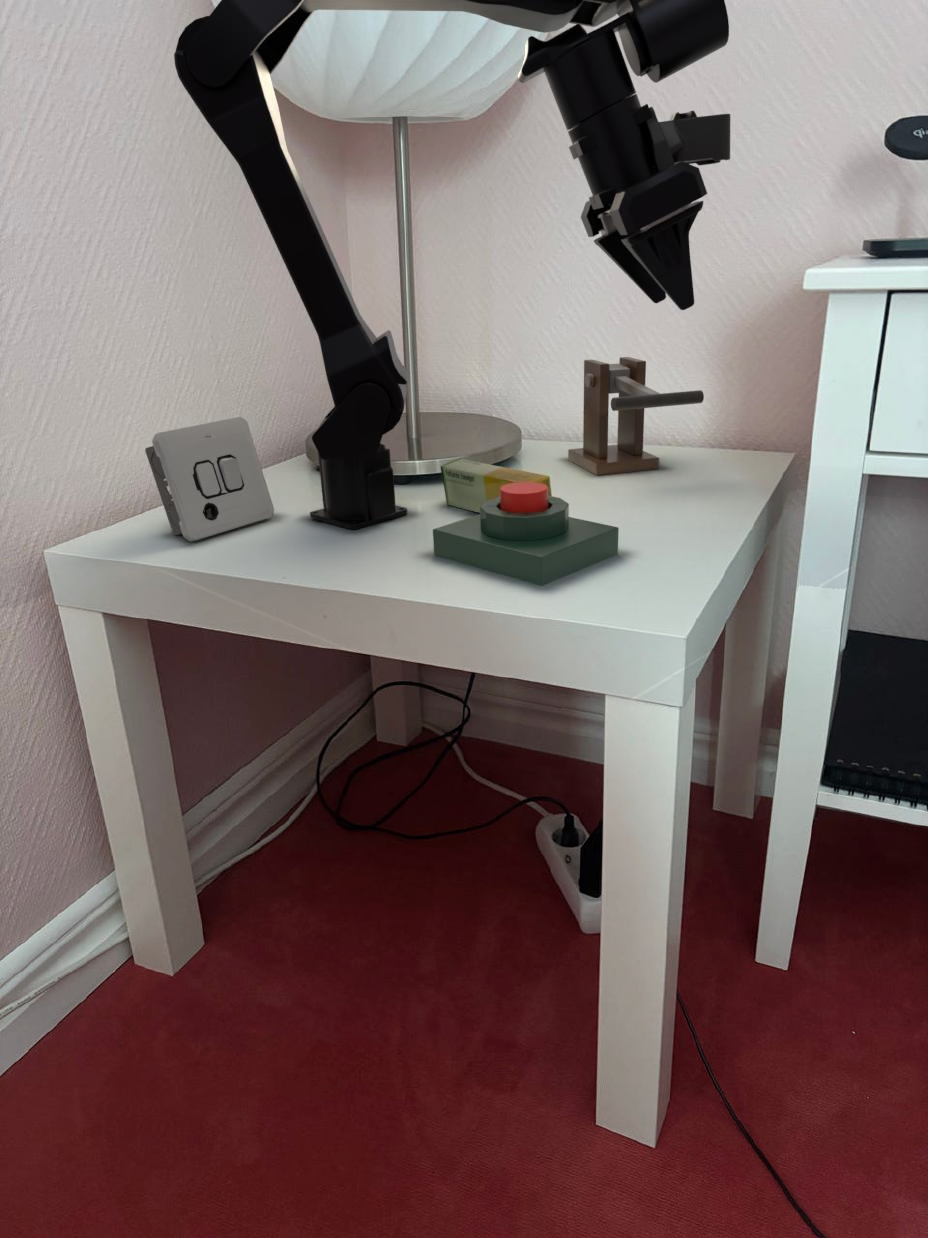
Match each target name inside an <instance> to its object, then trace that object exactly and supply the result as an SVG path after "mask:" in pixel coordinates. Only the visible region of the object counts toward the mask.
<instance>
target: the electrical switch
mask: <svg viewBox="0 0 928 1238" xmlns="http://www.w3.org/2000/svg"><path fill="white" fill-rule="evenodd" d="M151 443H152V446H148V447H145V449H144V452H145V454H146V457H147V462H148V464H149V467H150V470H151V472H152V475H153V478H154V481H155V484H156V487H157V490H158V493H159V496H160V499H161V502H162V505H163V508H164V512H165V514H166V517H167V520H168V523H169V526H170V529H171V531H172V535H173V536H175V535H176V536H177V535H182V537H183V538H184V539H186V540H187V541H188V542H196V541H199V540H203V539H206V538H208V537H212V536H216V535H219V534H221V533H224V532H229V531H231V530H235V529H238V528H241V527H244V526H248V525H251V524H255V523H258V522H261V521H263V520H267V519H269V518H272V517H273V515H274V512H275V508H274V507H275V506H274V505H273V500H272V498H271V497H272V496H271V494H270V491H269V488H268V485H267V482H266V478H265V475H264V472H263V469H262V465H261V462H260V458H259V455H258V453H257V449H256V446H255V444H254V443H255V442H254V440H253V436H252V433H251V430H250V427H249V423H248V421H247V420H246V419H245V418H244V417H242V416H237V417H230V418H225V419H221V420H215V421H210V422H206V423H199V424H195V425H190V426H185V427H181V428H176V429H175V428H174V429H170V430H165V431H160V432H157V433H155V434H154V435H153V438H152V441H151ZM168 488H169V490H168Z"/></svg>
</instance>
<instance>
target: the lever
mask: <svg viewBox="0 0 928 1238" xmlns="http://www.w3.org/2000/svg"><path fill="white" fill-rule="evenodd" d="M608 364H609V395H611V394H619V393H624V392H626V393H628V394H630V395H632V396H627V397H619V396H617V397H612V398H611V400H610V408H611V410H612V411H613V412H618V411H619V410H630V409H641V408H644V409H649V408H650V409H651V408H662V407H664V408H665V407H673V406H685V405H697V404H702V403H703V402H704V400H705V399H704V397H705V395H704V392H703V390H700V389H698V390H687V391H675V392H664V393H663V392H662V393H661V392H658V391H656V390H654V389H652V388H650V387H648V386H646V385H645V386H644V385H642V384H640V383H638V382H636V381H634V380H632V379H630V368H627V367H625V366H623V365H621V364H619V363H608Z"/></svg>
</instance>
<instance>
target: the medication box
mask: <svg viewBox="0 0 928 1238" xmlns="http://www.w3.org/2000/svg"><path fill="white" fill-rule="evenodd" d="M440 472H441V478H442V484H443V490H444V495H445V501H446V506H451V507H454V508H455V507H456V508H460V509H463V510H466V511H471V512H475V513H479V514H480V507H481V506H482V504H483V503H484V502H485V501H487V500H491V499H494V498H497V497H500V488H501V486H503V485H506V484H509V483H515V482H537V483H542V484H545V485H547V486H548V496H553V495H552V486H551V477H550V475H546V474H540V473H536V472H535V473H534V472H530V471H526V470H520V469H514V468H510V467H506V466H505V467H504V466H500V465H494V464H489V463H484V462H479V461H473V460H468V459H464V458H458V459H455V460H451V461H448V462H446V463H445V464H443V465H441V466H440Z"/></svg>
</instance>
